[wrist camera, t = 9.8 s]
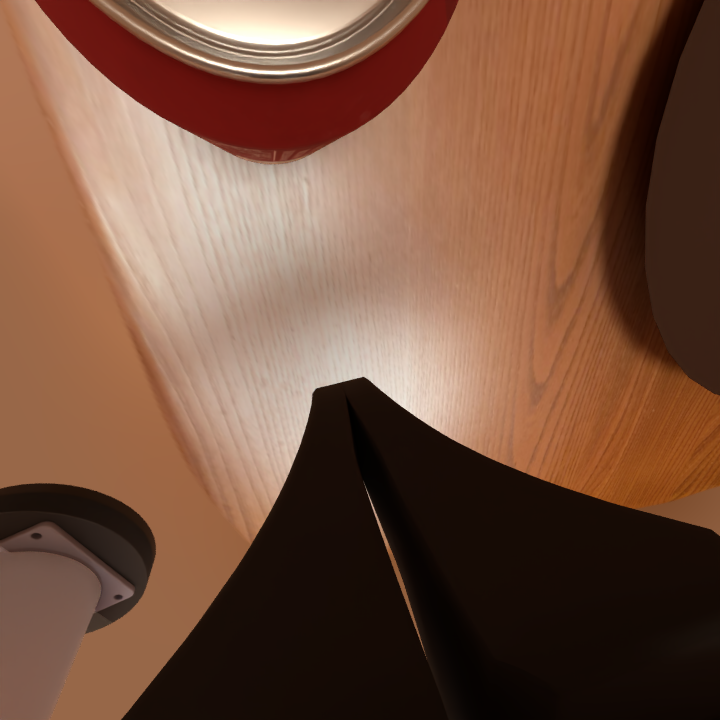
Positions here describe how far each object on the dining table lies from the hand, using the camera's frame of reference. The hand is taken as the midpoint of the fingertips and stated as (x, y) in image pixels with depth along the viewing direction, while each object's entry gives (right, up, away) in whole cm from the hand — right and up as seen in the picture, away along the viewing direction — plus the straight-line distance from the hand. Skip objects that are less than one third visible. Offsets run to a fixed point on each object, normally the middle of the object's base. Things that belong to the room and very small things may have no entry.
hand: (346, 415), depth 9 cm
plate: (+26, +13, +11) cm, 31 cm away
